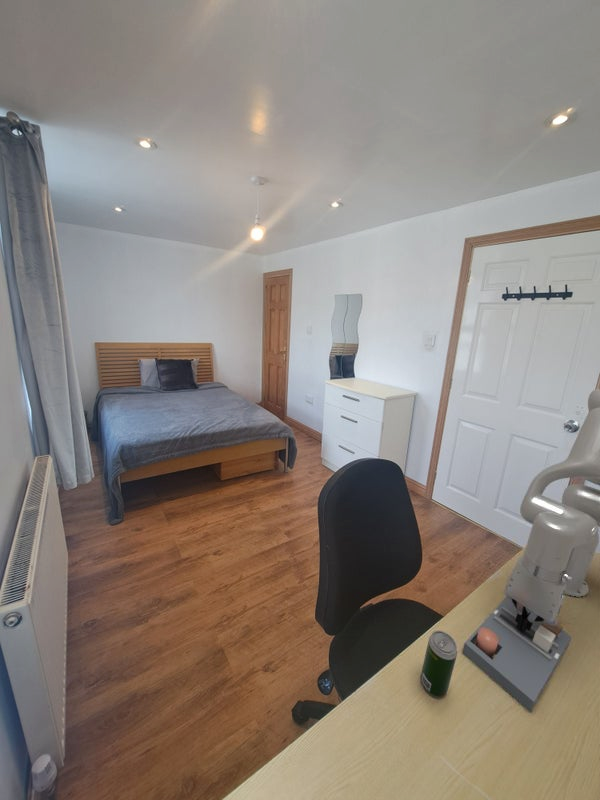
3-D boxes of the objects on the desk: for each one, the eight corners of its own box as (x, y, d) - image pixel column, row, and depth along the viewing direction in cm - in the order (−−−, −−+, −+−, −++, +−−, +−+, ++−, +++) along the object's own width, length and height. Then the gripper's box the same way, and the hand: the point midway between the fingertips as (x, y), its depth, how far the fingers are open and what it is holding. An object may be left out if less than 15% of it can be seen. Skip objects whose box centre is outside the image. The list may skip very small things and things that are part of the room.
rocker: (546, 619, 80) (547, 616, 80) (561, 629, 78) (563, 626, 78) (540, 626, 77) (541, 623, 77) (556, 637, 75) (557, 633, 75)
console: (506, 603, 89) (509, 592, 88) (568, 645, 78) (572, 634, 77) (462, 652, 75) (465, 640, 74) (530, 712, 64) (535, 699, 63)
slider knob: (536, 635, 76) (540, 624, 75) (551, 645, 74) (555, 635, 73) (532, 642, 75) (535, 631, 74) (547, 653, 72) (551, 642, 71)
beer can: (436, 705, 64) (448, 661, 61) (414, 679, 68) (424, 637, 65) (452, 689, 67) (463, 646, 64) (429, 666, 71) (439, 624, 68)
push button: (480, 635, 77) (483, 624, 76) (498, 649, 74) (501, 638, 73) (472, 644, 74) (475, 633, 74) (490, 659, 71) (493, 648, 70)
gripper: (588, 581, 69) (564, 644, 74) (512, 540, 80) (496, 597, 85) (579, 597, 65) (553, 664, 70) (499, 552, 76) (483, 612, 81)
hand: (522, 627), depth 77 cm, fingers closed
